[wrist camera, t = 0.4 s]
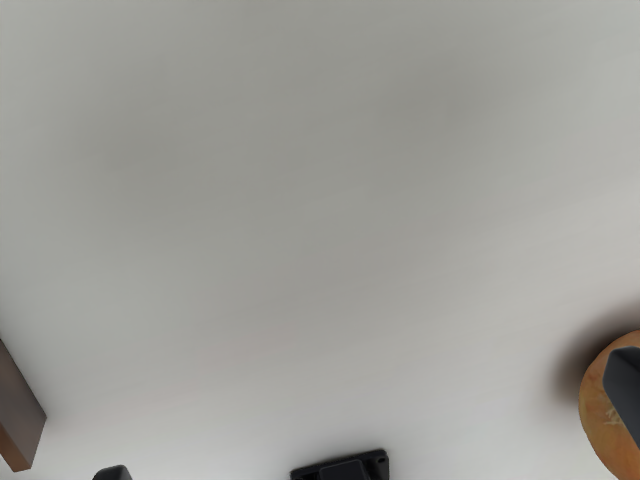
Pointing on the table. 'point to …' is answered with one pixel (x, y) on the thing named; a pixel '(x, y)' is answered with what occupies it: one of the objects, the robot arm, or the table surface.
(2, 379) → the open-ended tray
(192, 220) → the table surface
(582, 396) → the onion
